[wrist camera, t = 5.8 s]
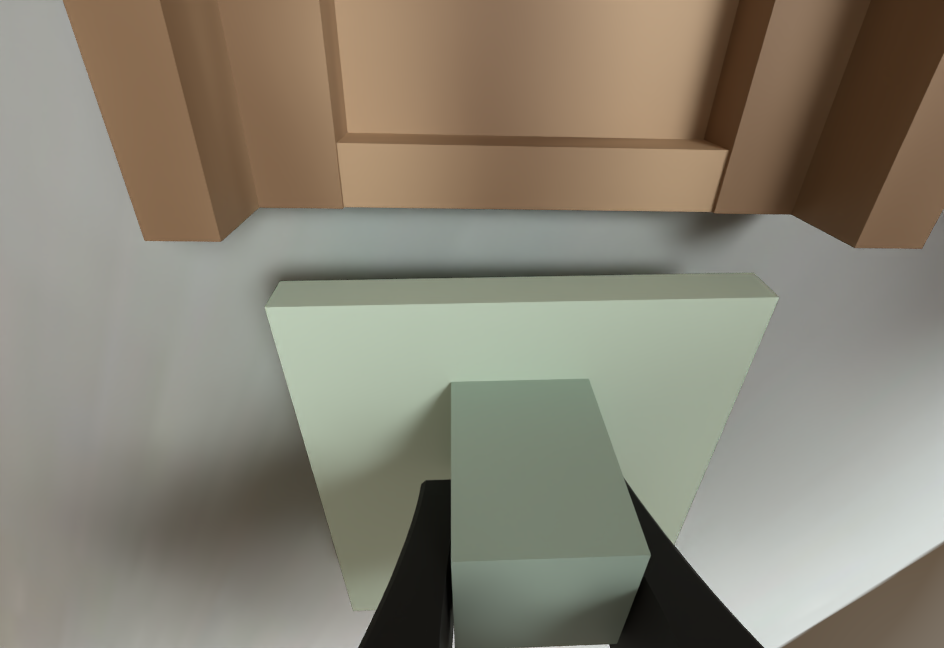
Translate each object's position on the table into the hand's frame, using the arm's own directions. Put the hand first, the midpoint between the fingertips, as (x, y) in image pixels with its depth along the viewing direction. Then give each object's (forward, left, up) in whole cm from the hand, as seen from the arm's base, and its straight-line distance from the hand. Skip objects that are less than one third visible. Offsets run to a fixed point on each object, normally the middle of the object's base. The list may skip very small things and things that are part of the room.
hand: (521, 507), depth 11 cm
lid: (0, +1, -2) cm, 3 cm away
